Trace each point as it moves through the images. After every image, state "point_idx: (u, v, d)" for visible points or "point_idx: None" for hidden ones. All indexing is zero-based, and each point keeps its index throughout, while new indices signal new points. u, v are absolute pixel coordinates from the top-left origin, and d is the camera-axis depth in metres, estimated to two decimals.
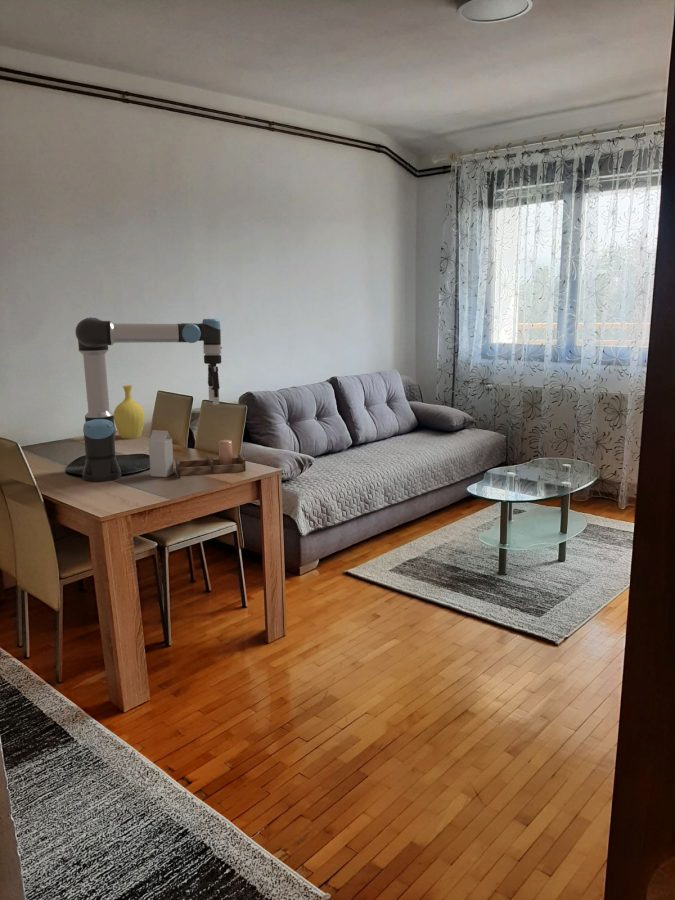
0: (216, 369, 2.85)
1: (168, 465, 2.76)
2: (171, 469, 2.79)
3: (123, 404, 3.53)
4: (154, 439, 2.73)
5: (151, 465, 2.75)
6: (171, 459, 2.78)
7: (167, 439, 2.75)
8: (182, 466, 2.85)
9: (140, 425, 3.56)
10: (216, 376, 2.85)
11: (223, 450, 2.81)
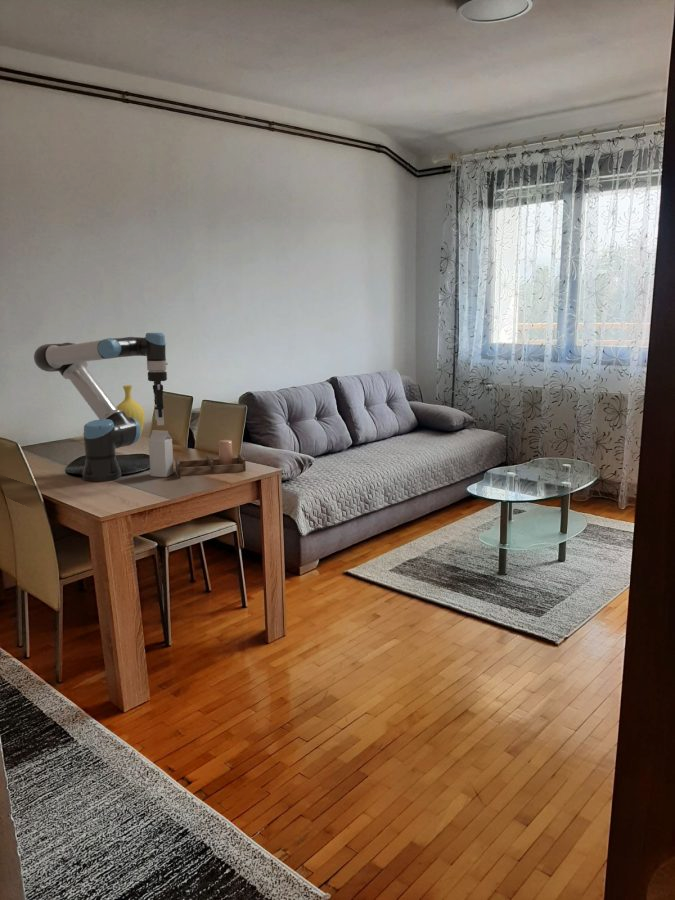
0: (160, 387, 2.64)
1: (168, 465, 2.76)
2: (171, 469, 2.79)
3: (123, 404, 3.53)
4: (154, 439, 2.73)
5: (151, 465, 2.75)
6: (171, 459, 2.78)
7: (167, 439, 2.75)
8: (182, 466, 2.85)
9: (140, 425, 3.56)
10: (160, 395, 2.64)
11: (223, 450, 2.81)
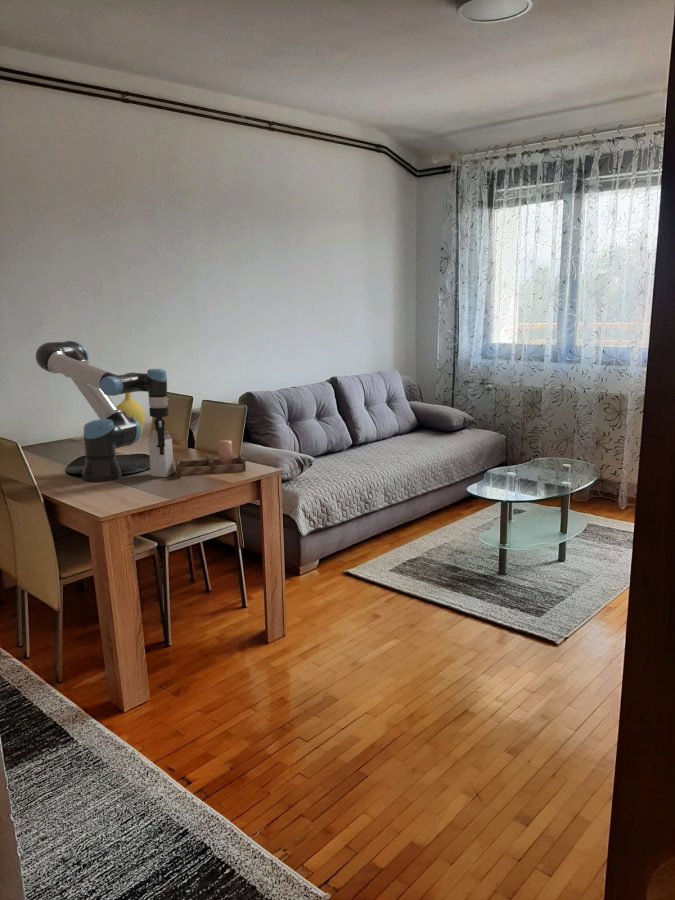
0: (162, 425, 2.68)
1: (168, 465, 2.76)
2: (171, 469, 2.79)
3: (123, 404, 3.53)
4: (154, 439, 2.73)
5: (151, 465, 2.75)
6: (171, 459, 2.78)
7: (167, 439, 2.75)
8: (182, 466, 2.85)
9: (140, 425, 3.56)
10: (161, 433, 2.68)
11: (223, 450, 2.81)
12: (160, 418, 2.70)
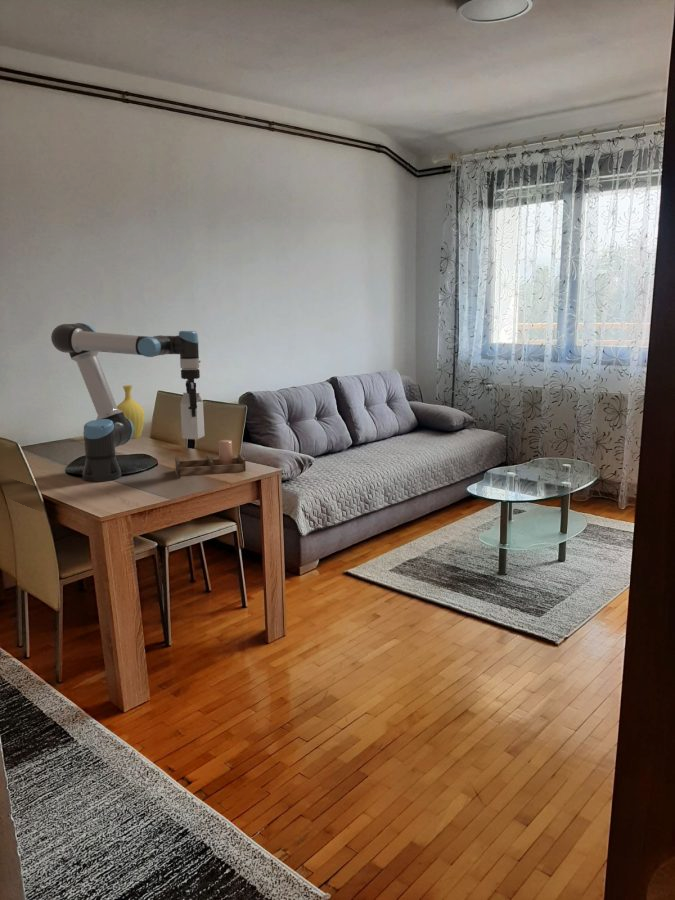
0: (194, 386, 2.67)
1: (200, 427, 2.76)
2: (203, 432, 2.79)
3: (123, 404, 3.53)
4: (186, 401, 2.72)
5: (183, 427, 2.74)
6: (202, 422, 2.78)
7: (198, 401, 2.75)
8: (182, 466, 2.85)
9: (140, 425, 3.56)
10: (193, 394, 2.67)
11: (223, 450, 2.81)
12: (192, 380, 2.70)
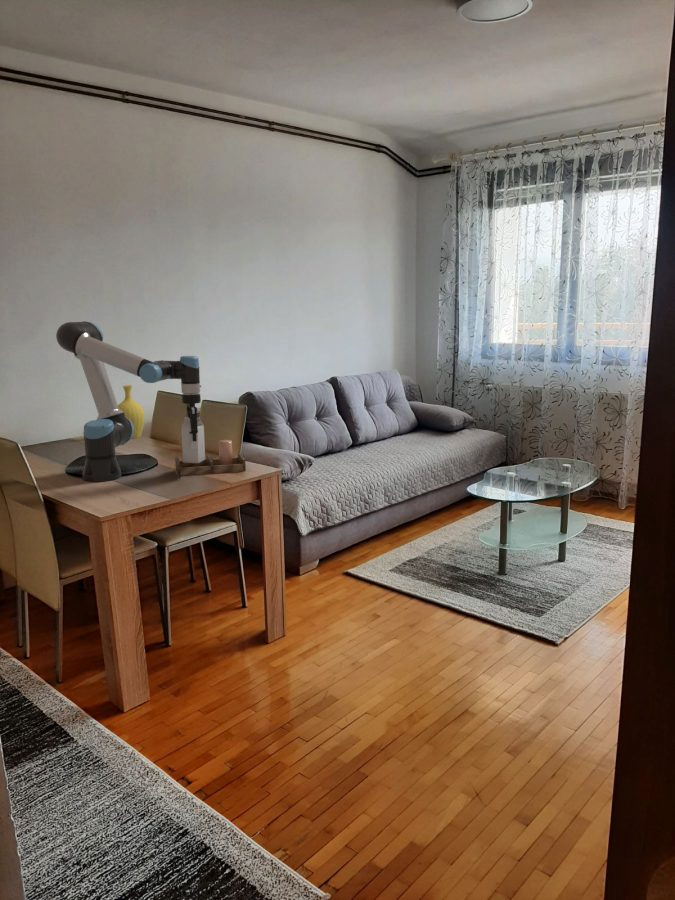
0: (195, 411, 2.69)
1: (200, 451, 2.78)
2: (203, 455, 2.81)
3: (123, 404, 3.53)
4: (187, 425, 2.75)
5: (183, 451, 2.76)
6: (203, 446, 2.80)
7: (199, 426, 2.77)
8: (182, 466, 2.85)
9: (140, 425, 3.56)
10: (194, 419, 2.70)
11: (223, 450, 2.81)
12: (193, 405, 2.72)
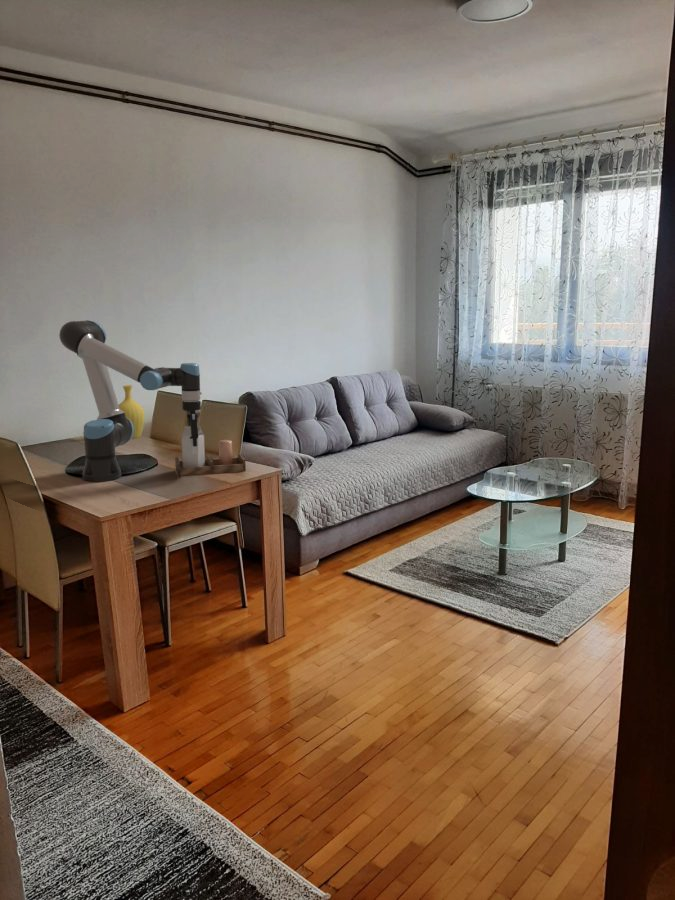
0: (195, 417, 2.70)
1: (200, 460, 2.79)
2: (203, 464, 2.82)
3: (123, 404, 3.53)
4: (187, 435, 2.76)
5: (184, 460, 2.77)
6: (203, 455, 2.81)
7: (199, 435, 2.78)
8: (182, 466, 2.85)
9: (140, 425, 3.56)
10: (195, 424, 2.69)
11: (223, 450, 2.81)
12: (193, 411, 2.73)
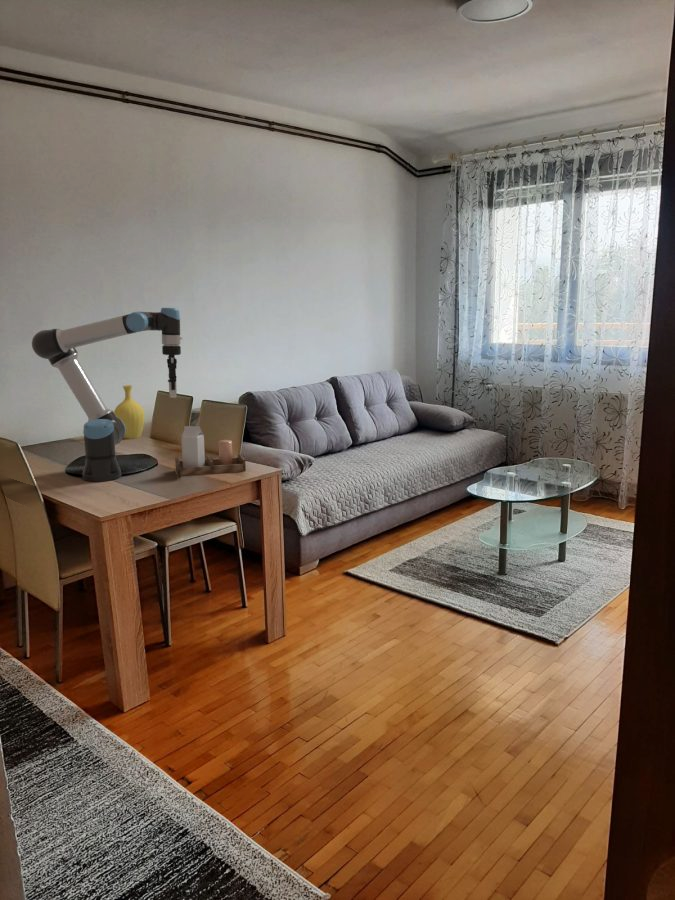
0: (173, 360, 2.72)
1: (200, 460, 2.79)
2: (203, 464, 2.82)
3: (123, 404, 3.53)
4: (187, 435, 2.75)
5: (183, 461, 2.77)
6: (203, 455, 2.81)
7: (199, 435, 2.78)
8: (182, 466, 2.85)
9: (141, 425, 3.56)
10: (173, 368, 2.72)
11: (223, 450, 2.81)
12: (172, 356, 2.75)
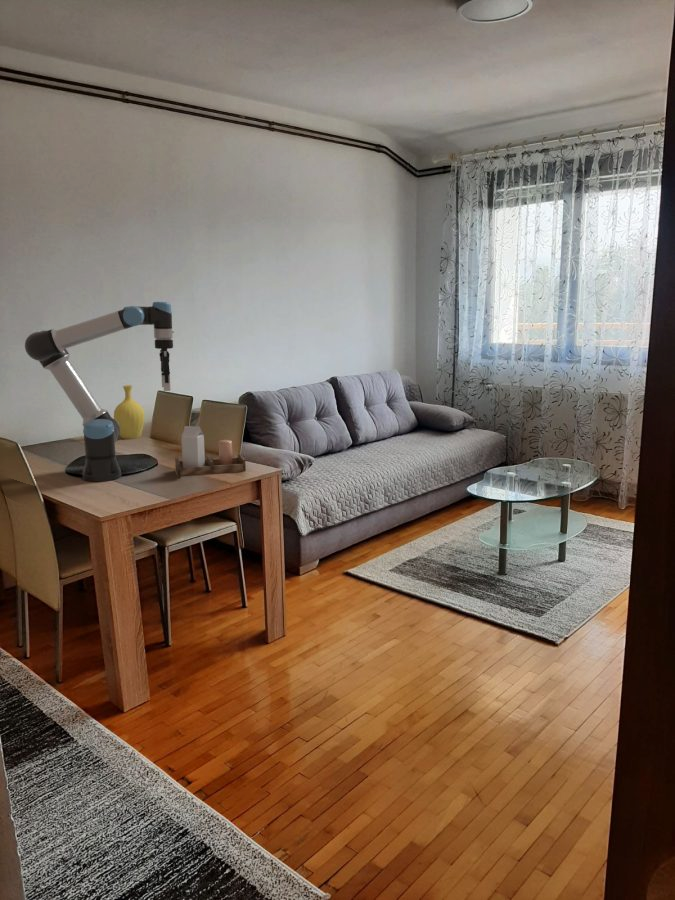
0: (166, 354, 2.75)
1: (200, 460, 2.79)
2: (203, 464, 2.82)
3: (123, 404, 3.53)
4: (187, 435, 2.75)
5: (183, 461, 2.77)
6: (203, 455, 2.81)
7: (199, 435, 2.78)
8: (182, 466, 2.85)
9: (141, 425, 3.56)
10: (166, 361, 2.75)
11: (223, 450, 2.81)
12: (165, 349, 2.78)
